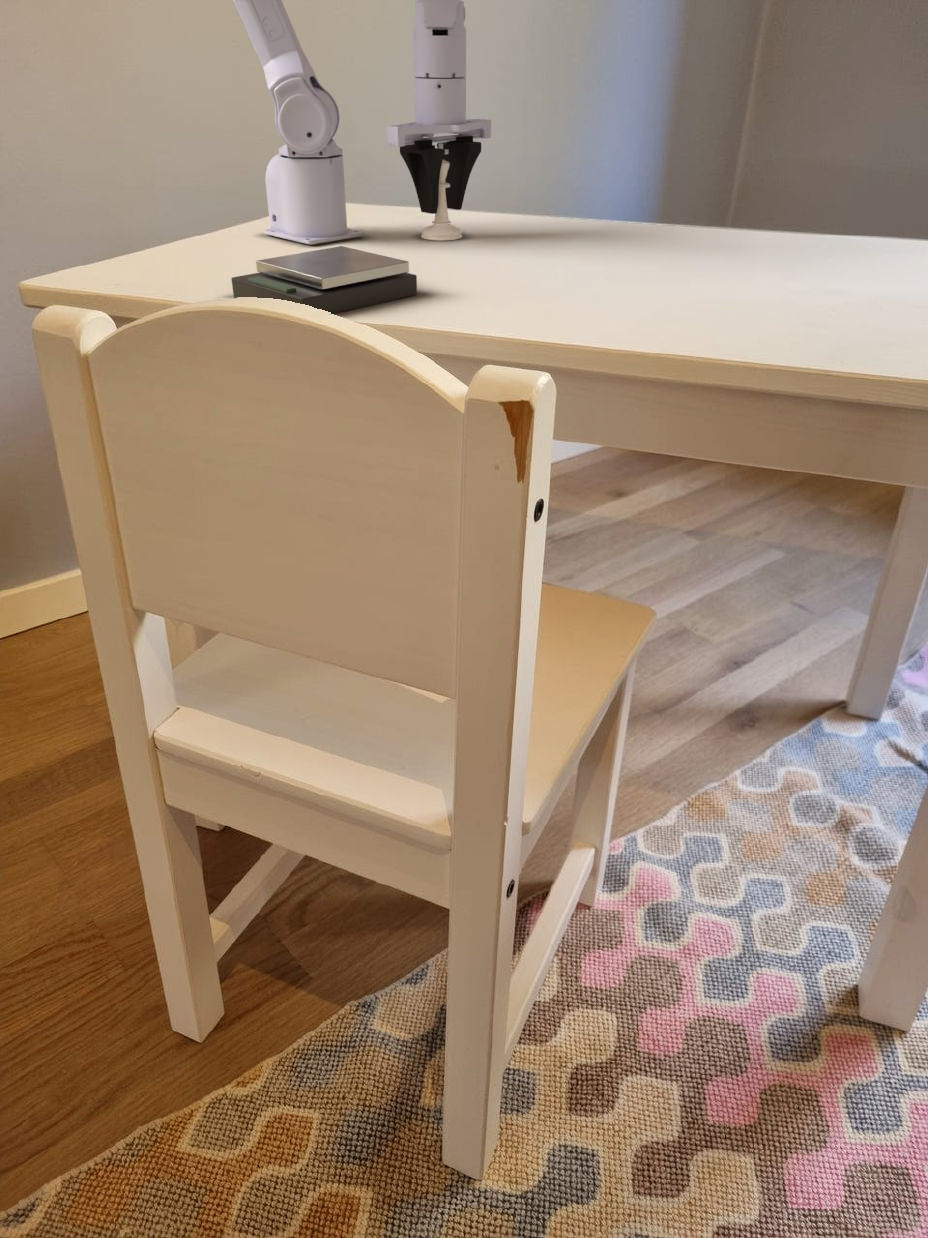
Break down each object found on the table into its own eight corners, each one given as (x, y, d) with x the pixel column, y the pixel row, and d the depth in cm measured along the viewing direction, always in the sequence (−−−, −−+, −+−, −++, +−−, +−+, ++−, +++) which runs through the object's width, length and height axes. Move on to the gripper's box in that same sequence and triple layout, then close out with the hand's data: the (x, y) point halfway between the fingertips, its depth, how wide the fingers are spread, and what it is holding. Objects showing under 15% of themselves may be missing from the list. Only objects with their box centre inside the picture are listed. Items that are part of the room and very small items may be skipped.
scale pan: (256, 271, 85) (255, 260, 85) (342, 256, 91) (341, 245, 91) (322, 290, 79) (321, 278, 79) (409, 272, 85) (409, 261, 85)
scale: (233, 297, 85) (230, 273, 84) (344, 275, 93) (342, 253, 92) (304, 320, 79) (302, 294, 77) (417, 294, 86) (416, 271, 85)
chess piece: (457, 241, 108) (457, 146, 103) (416, 239, 109) (414, 144, 104) (465, 233, 112) (466, 141, 107) (426, 232, 113) (424, 140, 108)
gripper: (415, 80, 95) (418, 221, 102) (511, 76, 104) (508, 207, 111) (371, 78, 99) (377, 214, 107) (467, 74, 108) (466, 200, 115)
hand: (441, 210), depth 109 cm, fingers open, 3 cm apart
